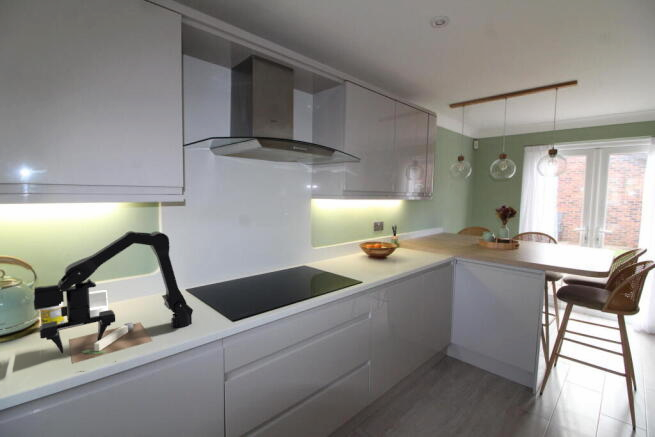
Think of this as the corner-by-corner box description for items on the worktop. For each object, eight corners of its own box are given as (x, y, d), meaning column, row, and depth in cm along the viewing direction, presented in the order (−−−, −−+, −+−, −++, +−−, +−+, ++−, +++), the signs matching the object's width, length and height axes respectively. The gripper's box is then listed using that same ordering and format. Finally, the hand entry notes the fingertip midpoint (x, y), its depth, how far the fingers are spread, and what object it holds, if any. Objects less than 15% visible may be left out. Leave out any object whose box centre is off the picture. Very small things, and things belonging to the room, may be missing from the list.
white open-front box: (80, 326, 121) (78, 297, 120) (82, 318, 128) (81, 291, 127) (107, 321, 126) (106, 293, 125) (108, 314, 133) (107, 287, 132)
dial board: (140, 325, 123) (140, 321, 122) (153, 344, 108) (152, 340, 108) (69, 343, 108) (68, 338, 108) (72, 368, 93) (72, 363, 93)
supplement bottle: (39, 329, 118) (37, 297, 117) (61, 323, 124) (59, 292, 123) (44, 334, 114) (42, 300, 113) (67, 327, 120) (65, 296, 119)
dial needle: (127, 328, 116) (127, 321, 116) (135, 329, 116) (134, 322, 116) (92, 351, 100) (92, 343, 100) (101, 351, 100) (101, 343, 99)
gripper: (109, 289, 111) (111, 330, 112) (39, 301, 98) (42, 347, 100) (114, 298, 103) (116, 342, 104) (38, 312, 90) (42, 362, 92)
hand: (81, 348), depth 100 cm, fingers open, 9 cm apart
